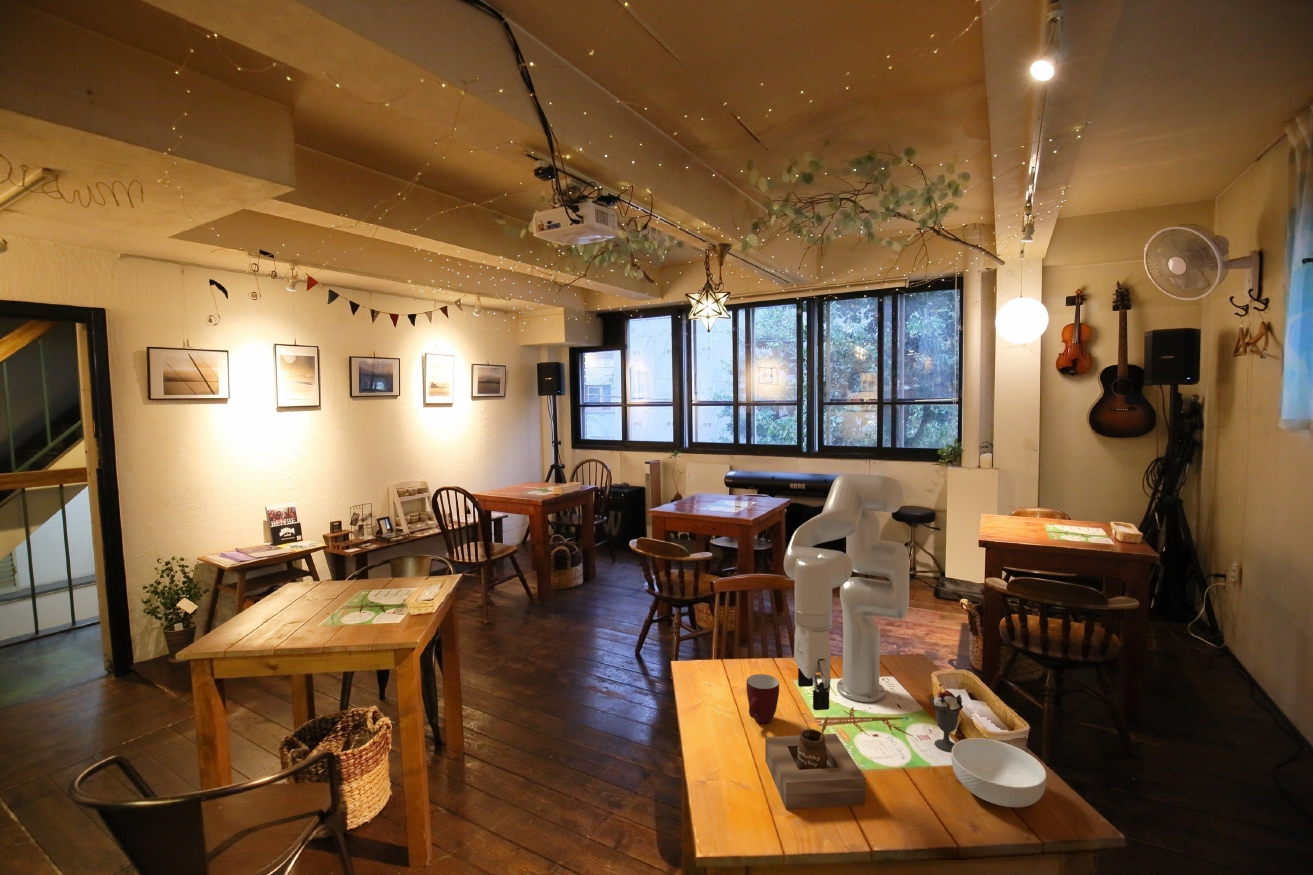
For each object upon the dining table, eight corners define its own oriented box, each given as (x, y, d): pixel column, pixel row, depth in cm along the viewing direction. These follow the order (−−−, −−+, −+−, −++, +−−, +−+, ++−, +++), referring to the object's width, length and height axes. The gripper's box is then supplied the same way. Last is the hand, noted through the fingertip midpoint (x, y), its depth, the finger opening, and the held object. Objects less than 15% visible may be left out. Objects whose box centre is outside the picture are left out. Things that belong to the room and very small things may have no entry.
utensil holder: (805, 755, 131) (805, 702, 131) (832, 766, 127) (833, 711, 127) (792, 768, 127) (792, 713, 126) (820, 780, 123) (821, 723, 122)
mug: (770, 736, 144) (770, 696, 144) (738, 728, 148) (738, 688, 147) (782, 715, 154) (782, 677, 153) (752, 708, 157) (752, 671, 157)
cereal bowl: (995, 829, 113) (996, 793, 112) (932, 776, 129) (933, 744, 128) (1066, 812, 117) (1068, 777, 117) (997, 762, 133) (998, 731, 133)
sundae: (926, 746, 139) (927, 683, 139) (936, 734, 144) (937, 673, 143) (956, 757, 135) (958, 692, 134) (965, 745, 140) (967, 682, 139)
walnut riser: (765, 760, 135) (765, 737, 134) (835, 757, 136) (835, 733, 135) (785, 809, 119) (785, 782, 118) (864, 804, 120) (865, 777, 120)
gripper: (783, 603, 133) (783, 678, 135) (809, 634, 116) (808, 720, 117) (816, 602, 134) (816, 677, 135) (846, 632, 117) (846, 718, 118)
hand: (813, 697), depth 126 cm, fingers open, 9 cm apart
